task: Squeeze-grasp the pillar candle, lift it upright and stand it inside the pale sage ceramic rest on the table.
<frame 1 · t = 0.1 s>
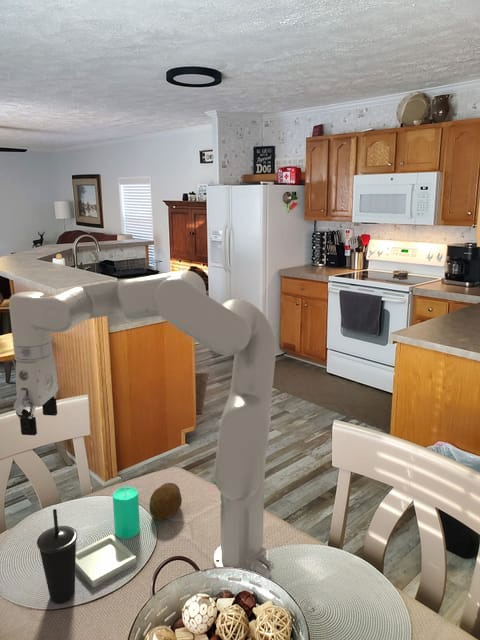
hand: (40, 424, 112), 31 cm above the table, tool pointing down, fingers open, 9 cm apart
candle: (127, 531, 126), on the table
rest: (103, 562, 115), on the table
drinking cup: (62, 595, 106), on the table
potato: (166, 514, 132), on the table
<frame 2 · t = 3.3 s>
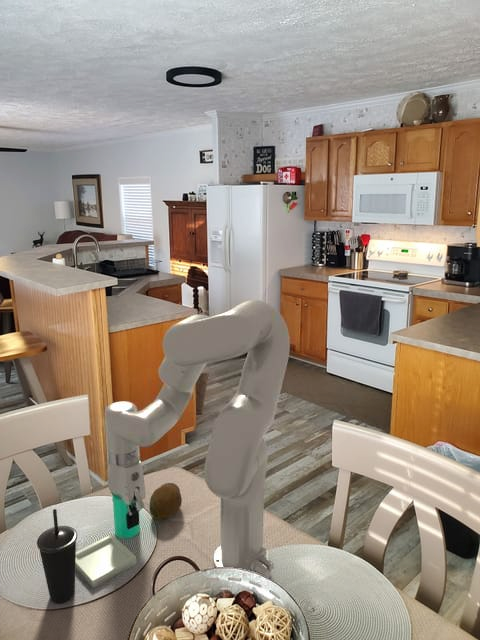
hand: (126, 520, 125), 3 cm above the table, tool pointing down, fingers closed on candle, 4 cm apart
candle: (127, 531, 126), on the table, touching gripper
everything else where it was.
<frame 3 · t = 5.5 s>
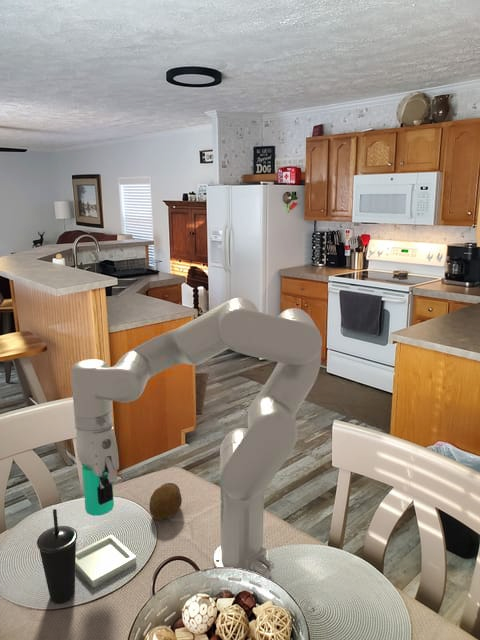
hand: (99, 495, 110), 17 cm above the table, tool pointing down, fingers closed on candle, 4 cm apart
candle: (99, 508, 111), point 14 cm above the table, touching gripper
everything else where it was.
when the fingers open (5 cm above the table, at t = 8.0 s): candle drops 1 cm, resting on rest.
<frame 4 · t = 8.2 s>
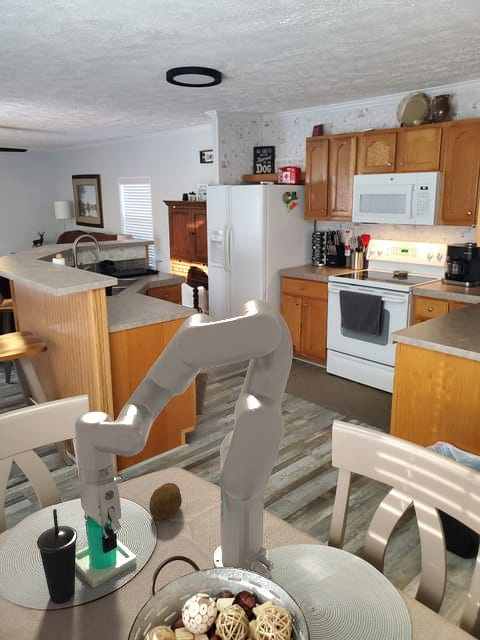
hand: (101, 541, 113), 6 cm above the table, tool pointing down, fingers open, 6 cm apart
candle: (103, 560, 114), point 1 cm above the table, touching rest
everything else where it was.
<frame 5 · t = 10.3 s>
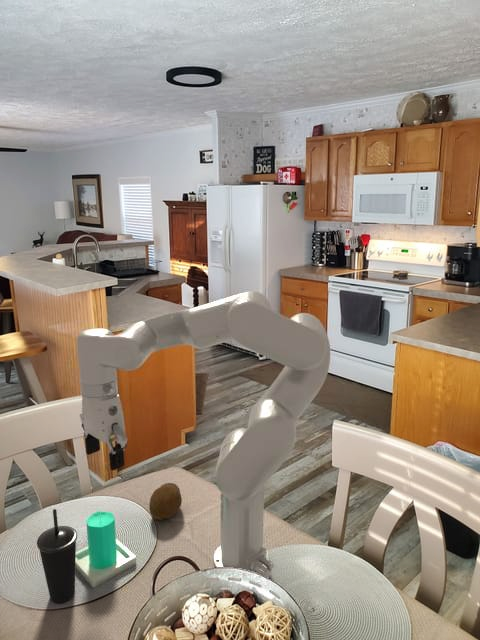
hand: (105, 459, 112), 24 cm above the table, tool pointing down, fingers open, 9 cm apart
nothing on the table moved.
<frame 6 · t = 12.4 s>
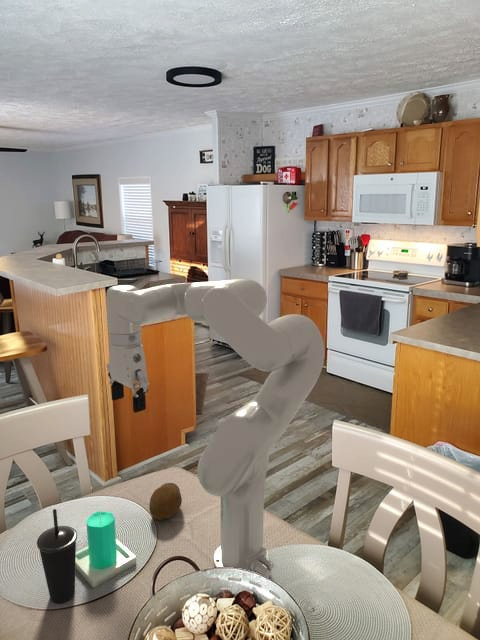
hand: (128, 404, 125), 30 cm above the table, tool pointing down, fingers open, 9 cm apart
nothing on the table moved.
at the end: candle 0.1 cm off-centre on the rest, point 0.6 cm above the rest's base; candle tilted 0°; the gripper is holding nothing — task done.
